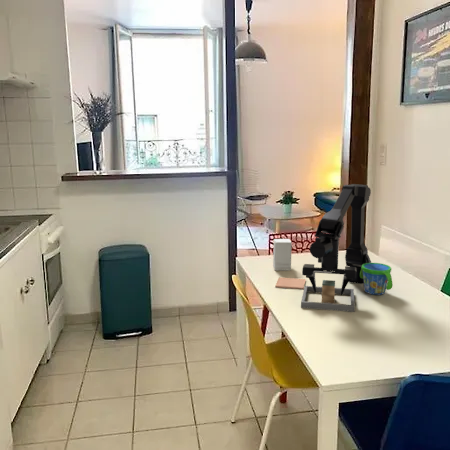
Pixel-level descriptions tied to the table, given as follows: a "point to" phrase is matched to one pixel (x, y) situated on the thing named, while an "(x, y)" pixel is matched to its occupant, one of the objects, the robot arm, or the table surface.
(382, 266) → the snack cup
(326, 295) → the oak block
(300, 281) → the tile
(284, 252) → the supplement box
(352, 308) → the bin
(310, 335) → the table surface
